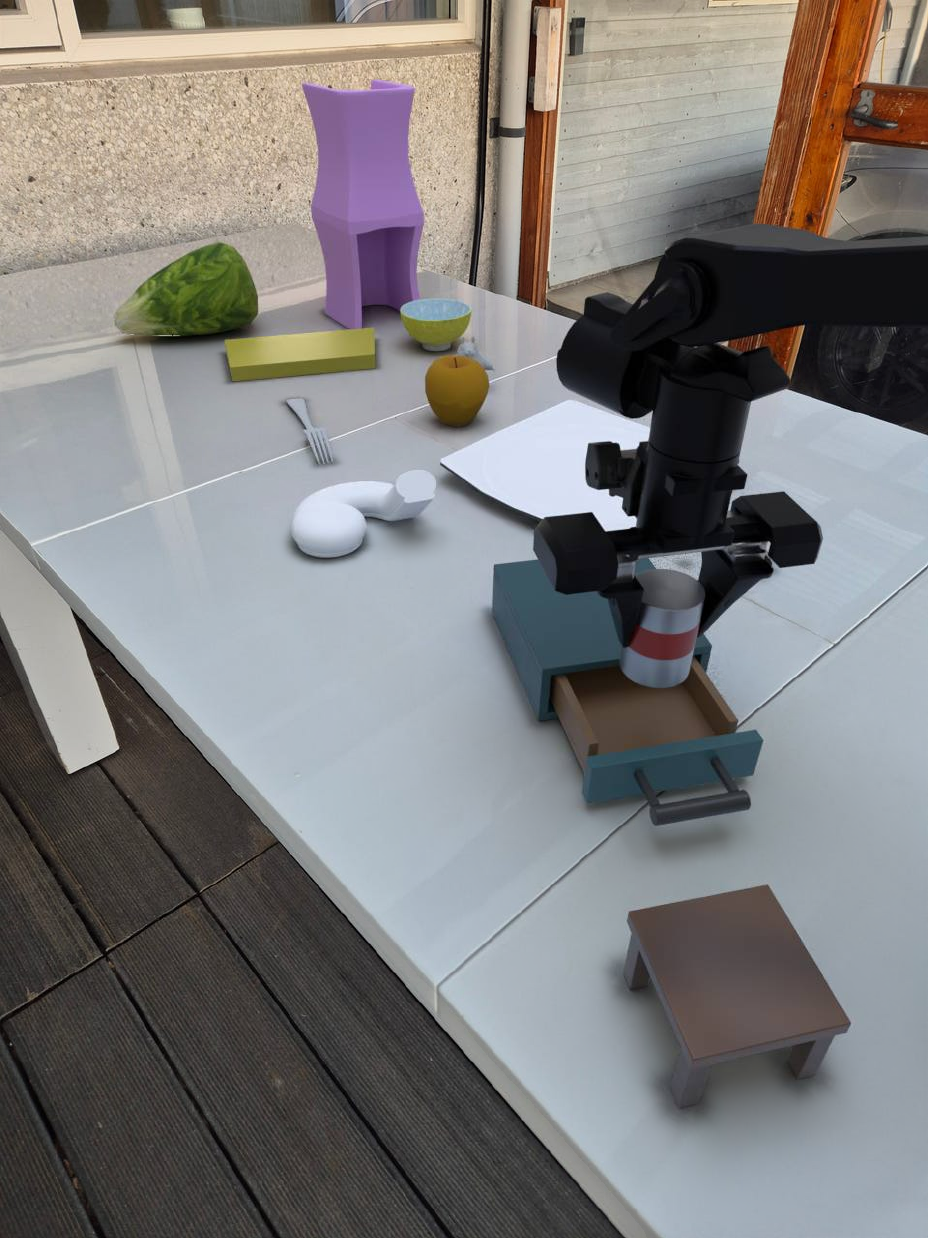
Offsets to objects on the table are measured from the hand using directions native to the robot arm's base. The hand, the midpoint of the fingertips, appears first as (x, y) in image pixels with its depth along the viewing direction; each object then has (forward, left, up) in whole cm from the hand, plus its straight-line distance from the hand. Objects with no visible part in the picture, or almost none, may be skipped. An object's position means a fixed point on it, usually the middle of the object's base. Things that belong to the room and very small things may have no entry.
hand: (659, 639), depth 65 cm
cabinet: (+12, 0, -11) cm, 16 cm away
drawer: (-1, 0, -10) cm, 10 cm away
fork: (+65, +21, -11) cm, 69 cm away
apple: (+64, +1, -11) cm, 65 cm away
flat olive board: (+91, +19, -11) cm, 94 cm away
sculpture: (+38, +18, -11) cm, 44 cm away
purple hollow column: (+111, +6, -11) cm, 112 cm away
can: (0, 0, -2) cm, 2 cm away
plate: (+44, -11, -11) cm, 47 cm away
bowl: (+93, -2, -11) cm, 94 cm away
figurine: (+75, -3, -11) cm, 76 cm away
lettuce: (+107, +37, -11) cm, 114 cm away
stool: (-23, +5, -11) cm, 26 cm away
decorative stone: (+23, -19, -11) cm, 32 cm away
